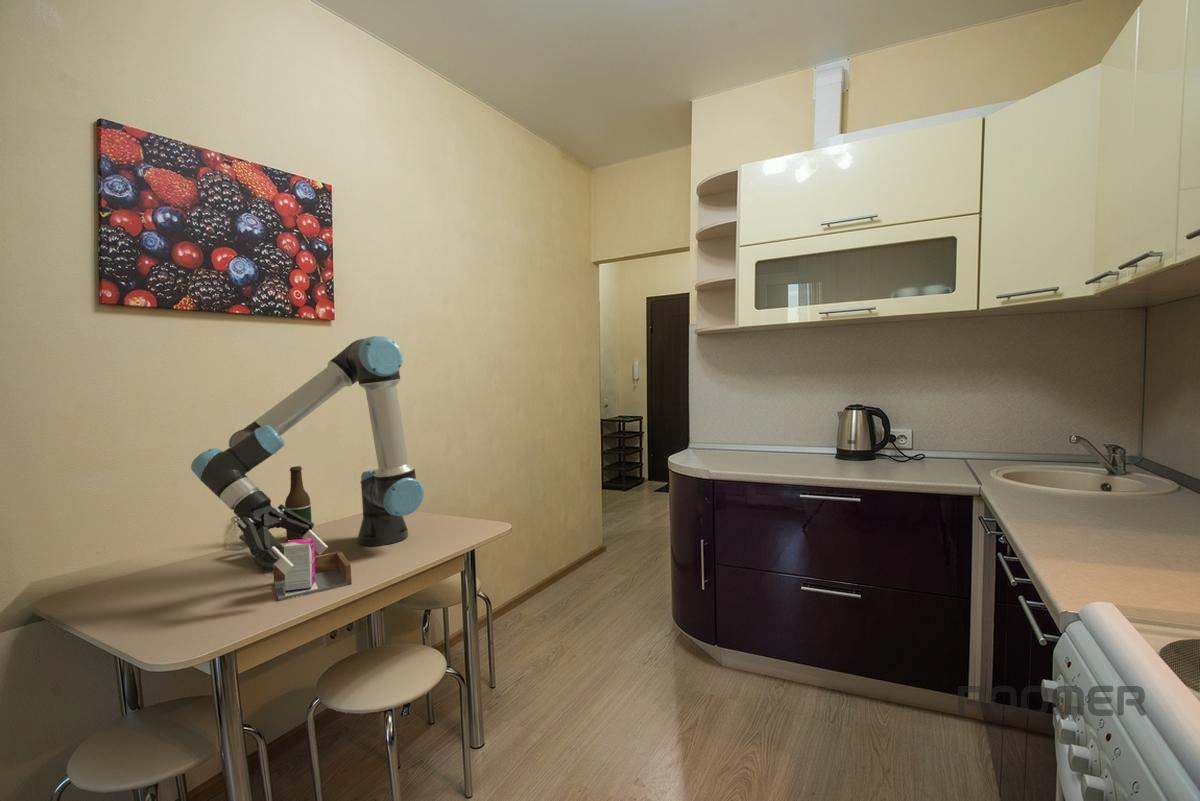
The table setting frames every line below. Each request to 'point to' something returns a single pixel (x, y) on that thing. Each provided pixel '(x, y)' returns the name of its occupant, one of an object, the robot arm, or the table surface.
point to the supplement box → (300, 565)
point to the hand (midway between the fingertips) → (307, 560)
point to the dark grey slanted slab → (263, 561)
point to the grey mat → (321, 583)
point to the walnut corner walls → (324, 566)
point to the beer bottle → (297, 500)
